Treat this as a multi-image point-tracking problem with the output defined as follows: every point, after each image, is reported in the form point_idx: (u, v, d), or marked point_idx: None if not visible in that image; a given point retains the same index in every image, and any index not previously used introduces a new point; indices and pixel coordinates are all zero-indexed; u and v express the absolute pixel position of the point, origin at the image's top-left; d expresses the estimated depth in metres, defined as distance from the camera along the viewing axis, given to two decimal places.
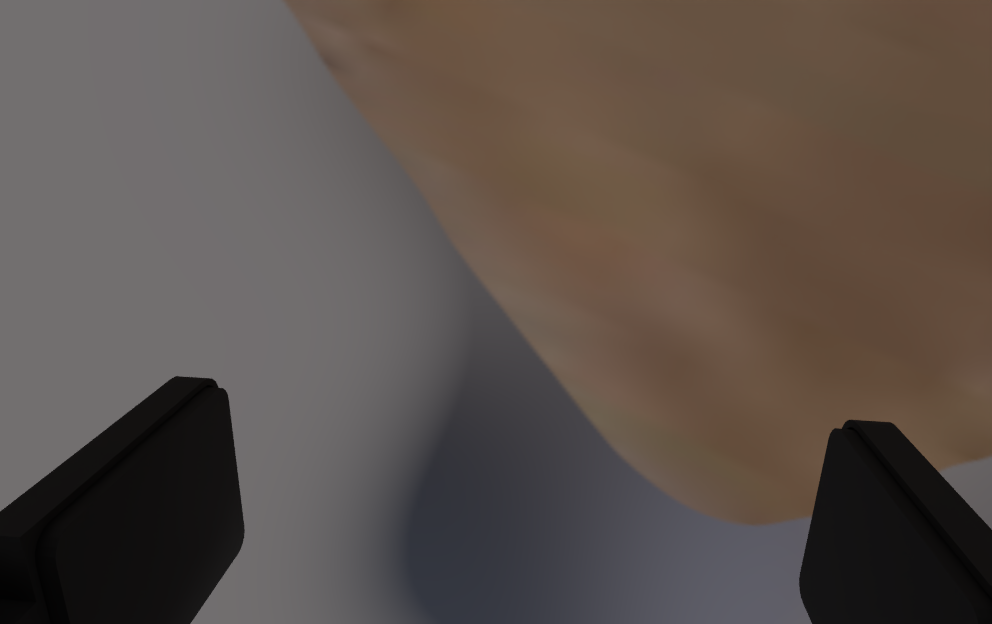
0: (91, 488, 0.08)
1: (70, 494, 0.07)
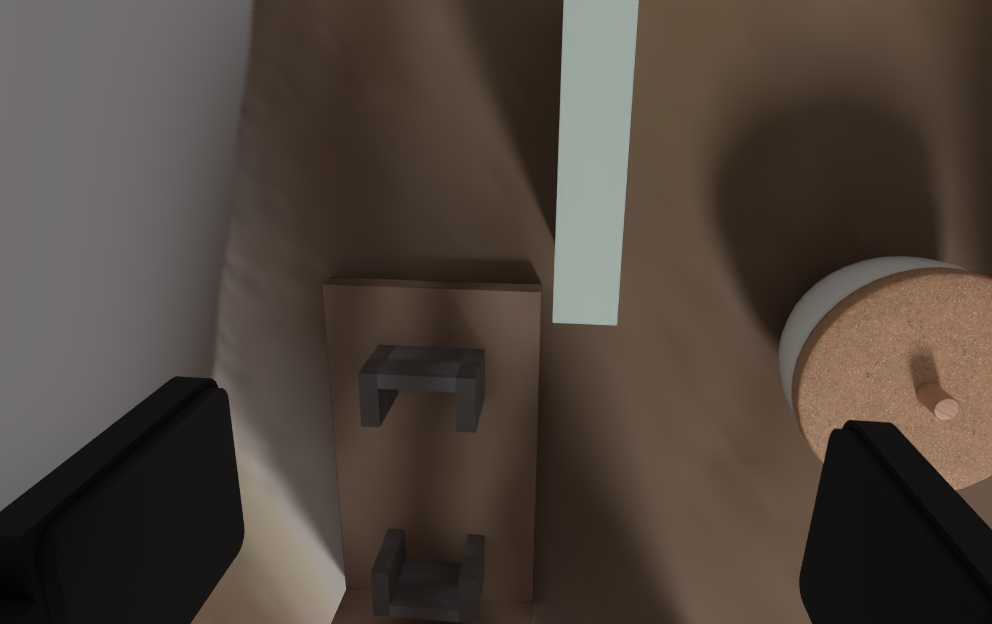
0: (91, 488, 0.08)
1: (71, 494, 0.07)
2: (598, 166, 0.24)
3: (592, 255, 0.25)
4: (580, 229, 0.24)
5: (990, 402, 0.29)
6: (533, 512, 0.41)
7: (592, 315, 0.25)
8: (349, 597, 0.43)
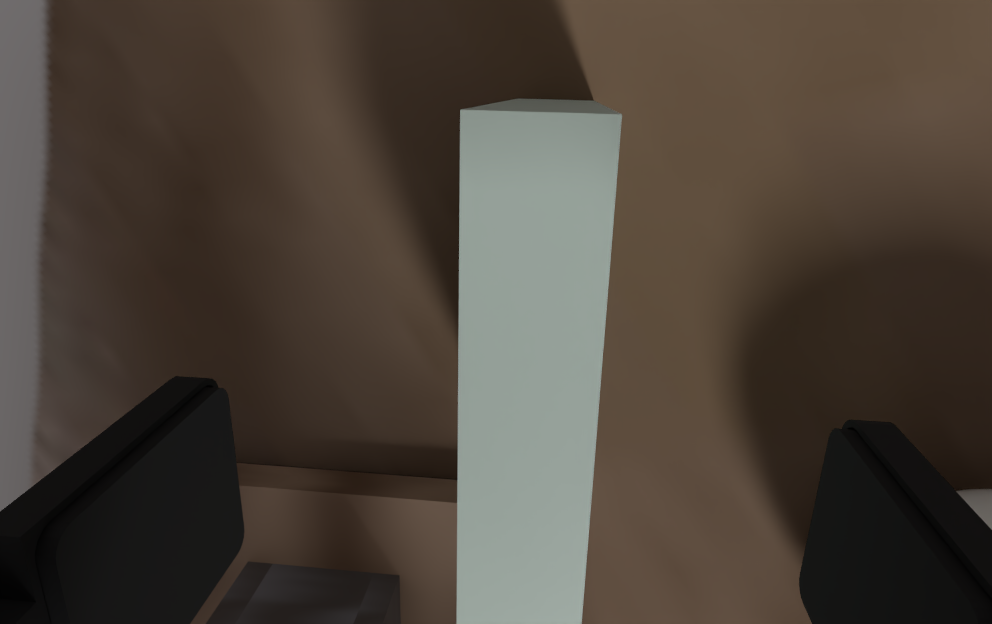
0: (91, 488, 0.08)
1: (70, 494, 0.07)
2: (536, 476, 0.12)
3: (526, 620, 0.13)
4: (502, 577, 0.13)
5: None
6: None
7: None
8: None
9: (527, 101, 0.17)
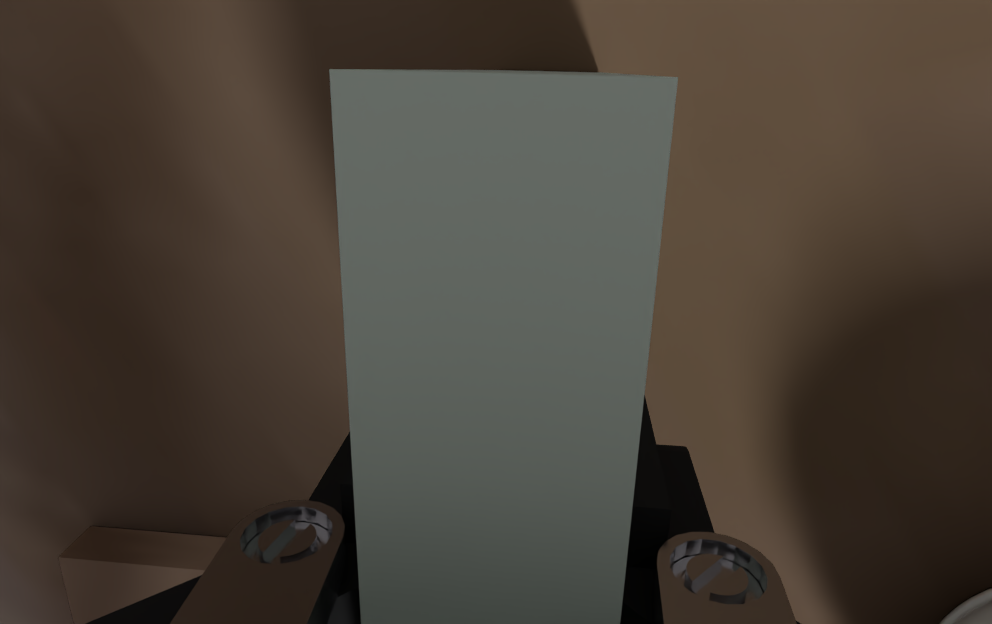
0: None
1: None
2: None
3: None
4: None
5: None
6: None
7: None
8: None
9: None
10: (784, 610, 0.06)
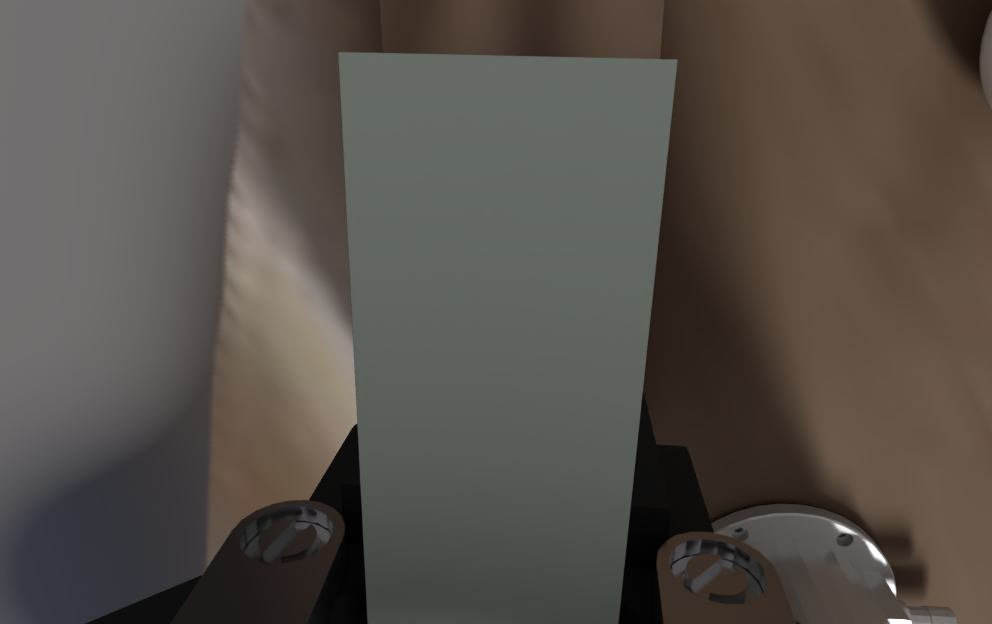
0: None
1: None
2: None
3: None
4: None
5: None
6: None
7: None
8: None
9: None
10: (783, 610, 0.06)
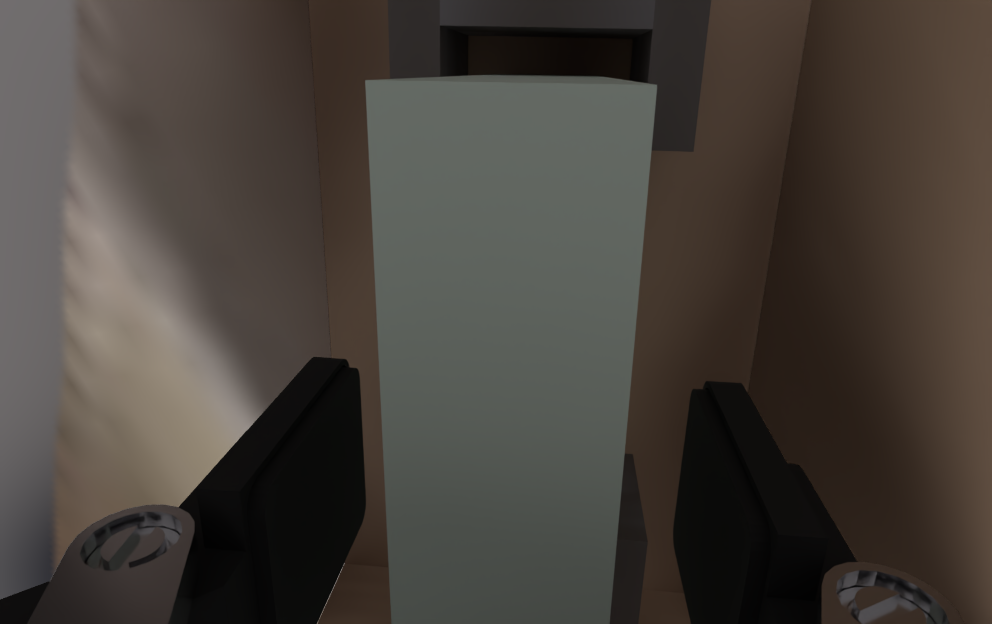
0: (279, 452, 0.08)
1: (266, 457, 0.08)
2: None
3: None
4: None
5: None
6: None
7: None
8: (351, 579, 0.22)
9: None
10: None
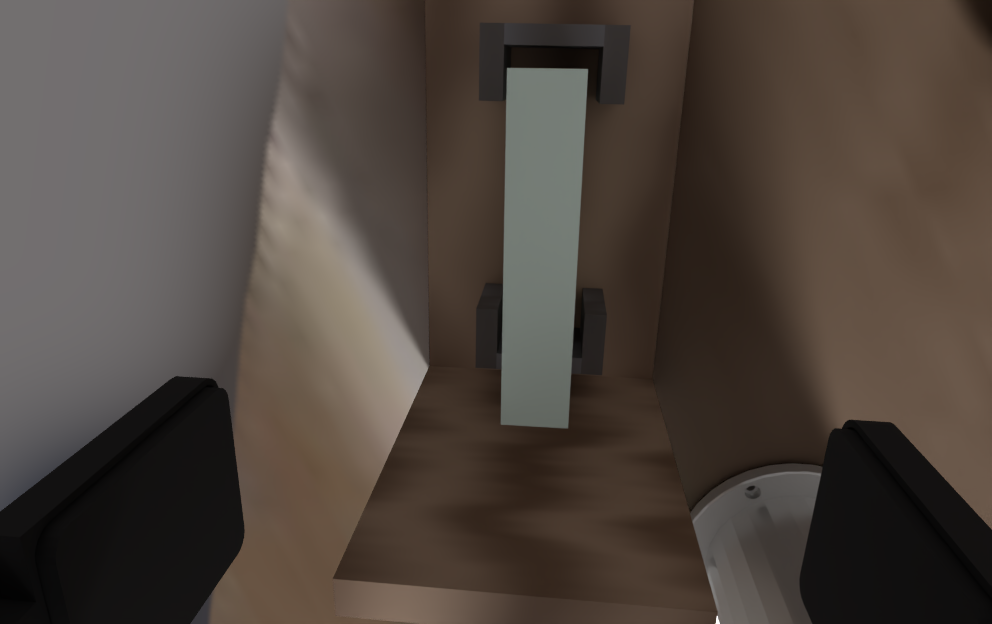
0: (91, 488, 0.08)
1: (70, 494, 0.07)
2: (546, 269, 0.22)
3: (541, 358, 0.23)
4: (527, 332, 0.23)
5: None
6: (664, 256, 0.34)
7: (542, 418, 0.24)
8: (435, 371, 0.36)
9: None
10: None
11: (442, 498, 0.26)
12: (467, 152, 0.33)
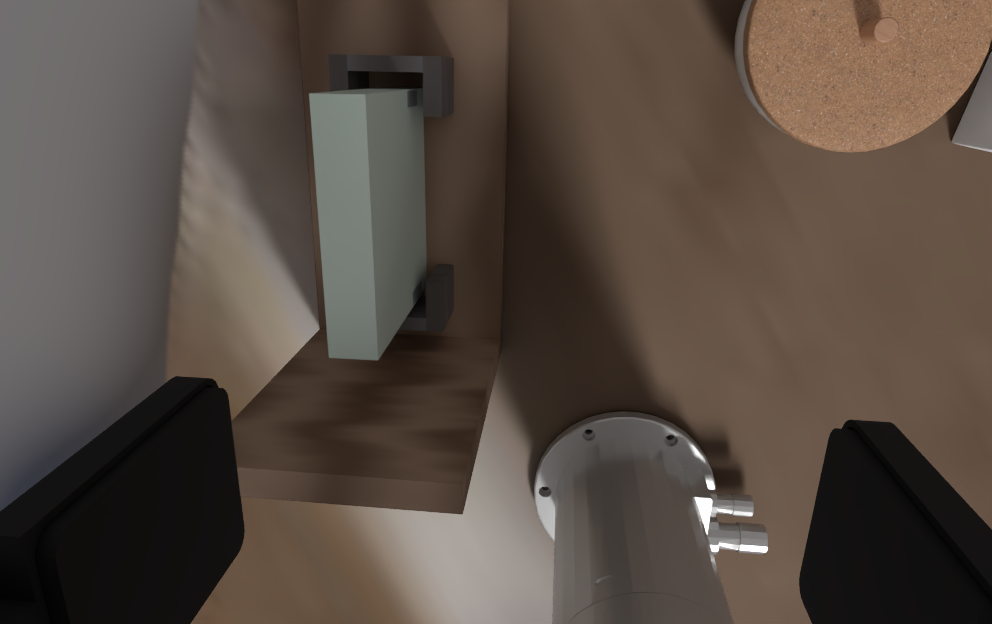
0: (91, 488, 0.08)
1: (70, 495, 0.07)
2: (350, 239, 0.30)
3: (353, 306, 0.31)
4: (341, 286, 0.31)
5: (929, 39, 0.30)
6: (500, 238, 0.42)
7: (358, 352, 0.32)
8: (322, 333, 0.44)
9: None
10: None
11: (291, 417, 0.34)
12: None
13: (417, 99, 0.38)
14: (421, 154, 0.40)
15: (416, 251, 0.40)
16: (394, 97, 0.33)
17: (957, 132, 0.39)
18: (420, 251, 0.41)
